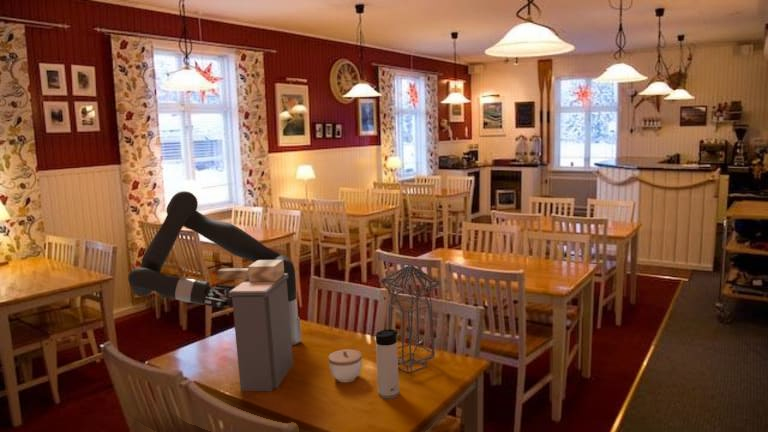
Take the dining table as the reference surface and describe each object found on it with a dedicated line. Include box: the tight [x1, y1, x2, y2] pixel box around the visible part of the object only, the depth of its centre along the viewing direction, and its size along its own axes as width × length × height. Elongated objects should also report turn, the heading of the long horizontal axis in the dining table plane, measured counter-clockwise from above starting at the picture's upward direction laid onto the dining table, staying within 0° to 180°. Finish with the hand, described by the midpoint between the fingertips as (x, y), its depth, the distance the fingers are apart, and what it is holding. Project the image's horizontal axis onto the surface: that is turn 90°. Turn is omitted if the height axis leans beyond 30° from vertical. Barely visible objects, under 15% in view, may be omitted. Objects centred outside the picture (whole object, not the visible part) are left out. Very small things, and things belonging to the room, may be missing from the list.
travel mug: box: [375, 328, 400, 400], centre depth 173 cm, size 6×7×20 cm
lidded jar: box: [328, 349, 363, 383], centre depth 187 cm, size 11×11×9 cm
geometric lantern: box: [378, 264, 441, 374], centre depth 191 cm, size 16×16×35 cm
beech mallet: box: [216, 260, 284, 282], centre depth 193 cm, size 21×9×5 cm, turn 82°
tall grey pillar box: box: [229, 273, 294, 392], centre depth 190 cm, size 12×22×32 cm, turn 172°
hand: (242, 299), depth 190 cm, fingers open, 8 cm apart
